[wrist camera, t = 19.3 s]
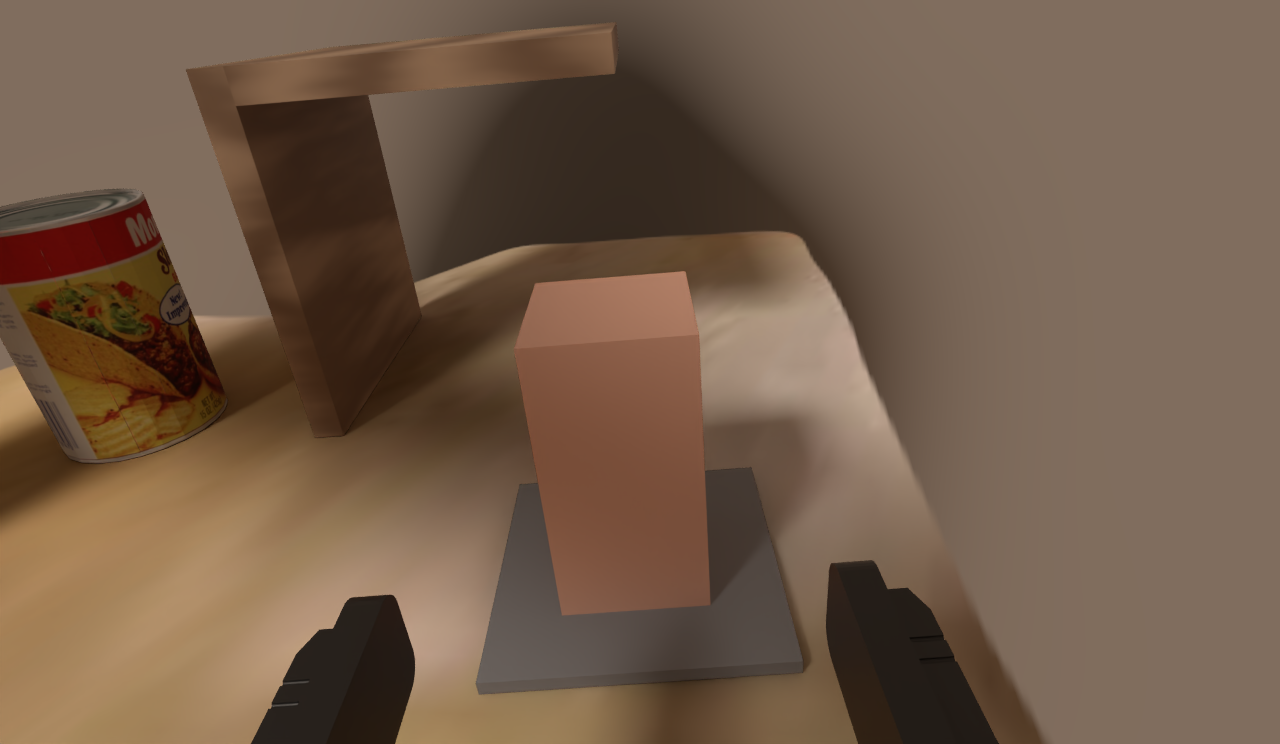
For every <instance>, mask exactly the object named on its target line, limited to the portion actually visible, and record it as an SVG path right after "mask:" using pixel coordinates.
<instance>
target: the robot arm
mask: <svg viewBox="0 0 1280 744" xmlns="http://www.w3.org/2000/svg"><path fill="white" fill-rule="evenodd" d="M826 632H827V641H828V647H829V651H830V656H831V659H832V662H833V666H834V669H835V672H836V675H837V678H838V681H839V685H840V688H841V691H842V694H843V697H844V700H845V703H846V707H847V710H848V713H849V716H850V719H851V722H852V726H853V729H854V732H855V735H856V738H857V741H858V744H999V743H998V741H997V740H996V738H995V736H994V734H993V732H992V730H991V728H990V726H989V724H988V722H987V720H986V718H985V716H984V714H983V712H982V710H981V708H980V706H979V704H978V702H977V700H976V698H975V696H974V694H973V692H972V690H971V688H970V686H969V684H968V682H967V680H966V678H965V676H964V674H963V672H962V671H961V669H960V667H959V665H958V663H957V662H955V659H954V655H953V653H952V651H951V649H950V647H949V645H948V643H947V641H946V640H944V637H943V633H942V631H941V629H940V627H939V625H938V623H937V621H936V619H935V617H934V615H933V613H932V611H931V609H930V608H929V607H927V606H926V605H925V604H924V603H923V602H922V601H921V600H920V599H919V598H918V597H917V596H916V595H915V594H913V593H912V592H911V591H910V590H909V589H908V588H899V589H887V587H886V585H885V583H884V580H883V578H882V576H881V574H880V571H879V569H878V567H877V565H876V564H875V562H874V561H872V560H869V561H855V562H842V563H831V565H830V569H829V582H828V599H827V615H826ZM414 675H415V658H414V652H413V648H412V645H411V642H410V639H409V636H408V633H407V630H406V627H405V624H404V621H403V618H402V615H401V612H400V609H399V606H398V603H397V600H396V598H395V597H394V596H393V595H380V596H367V597H353V598H350V599H349V600H347V602H346V603H345V605H344V607H343V609H342V611H341V613H340V615H339V617H338V619H337V622H336V624H335V626H334V628H333V629H322V630H319V631H318V632H317V633H316V634H315V635H314V636H313V637H312V638H311V639H310V640H309V641H308V642H307V643H306V644H305V645H304V646H303V648H302V649H301V650H300V651H299V652H298V653H297V654H296V656H295V658H294V660H293V662H292V664H291V666H290V668H289V670H288V671H287V673H286V675H285V677H284V679H283V685H282V686H280V687H279V689H278V691H277V693H276V695H275V697H274V699H273V701H272V707H271V709H268V711H267V713H266V715H265V717H264V719H263V721H262V723H261V725H260V727H259V729H258V731H257V733H256V735H255V737H254V739H253V741H252V743H251V744H395V742H396V739H397V735H398V732H399V729H400V726H401V722H402V719H403V716H404V713H405V710H406V706H407V703H408V700H409V697H410V693H411V690H412V687H413V682H414Z"/></svg>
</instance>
